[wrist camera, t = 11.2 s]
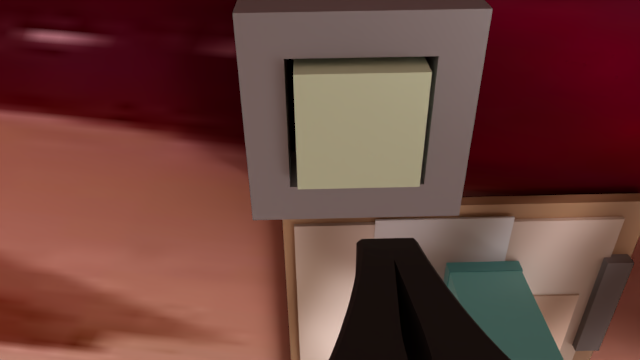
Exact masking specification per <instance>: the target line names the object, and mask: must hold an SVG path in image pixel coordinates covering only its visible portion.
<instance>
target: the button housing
mask: <svg viewBox="0 0 640 360" xmlns="http://www.w3.org/2000/svg"><path fill="white" fill-rule="evenodd" d="M492 10H493V9H492V7H491V6H490V5H489V4H488V3H487V2H486V1H485V0H237V2H236V5H235V7H234V10H233V13H232V14H233V24H234V35H235V45H236V55H237V65H238V75H239V85H240V95H241V106H242V116H243V126H244V136H245V146H246V156H247V166H248V177H249V187H250V197H251V207H252V217H253V220H283V219H327V218H372V217H417V216H459V213H460V207H461V200H462V194H463V188H464V182H465V176H466V170H467V163H468V157H469V151H470V145H471V139H472V133H473V127H474V120H475V114H476V108H477V102H478V96H479V90H480V84H481V77H482V71H483V65H484V59H485V53H486V47H487V40H488V34H489V28H490V22H491V16H492ZM422 56H424V57H425V59H426V61H427V63H428V65H429V67H430V69H431V71H432V77H431V86H430V96H429V105H428V114H427V123H426V132H425V142H424V151H423V160H422V169H421V178H420V187H388V188H342V189H298V185H297V160H296V151H294V152H291V131H290V109H289V87H288V65H287V59H314V58H368V57H422Z"/></svg>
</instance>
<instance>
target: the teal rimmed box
mask: <svg viewBox="0 0 640 360" xmlns="http://www.w3.org/2000/svg"><path fill="white" fill-rule="evenodd" d="M522 272H523V269H522V267H521V265H520V263H519V261H491V262H452V263H446V268H445V274H444V283H445V284H446V286H447V287H448V288H449V290H450V291H451V292H452V293H453V295H454V296H455V297H456V299H457V300H458V301H459V302H460V304H461V305H462V306H463V308H464V309H465V310H466V311H467V312H468V314H469V315H470V316H471V317H472V318H473V320H474V321H475V322H476V323H477V324H478V325H479V327H480V328H481V329H482V330H483V331H484V332H485V333H486V334H487V336H488V337H489V338H490V339H491V340H492V341H493V342H494V343H495V344H496V345H497V346H498V347H499V348H500V349H501V350H502V351H503V352H504V353H505V354H506V355H507V356H508V357H509V358H510V359H511V360H564V359H563V357H562V355H561V353H560V351H559V349H558V347H557V344H556V342H555V340H554V338H553V336H552V334H551V332H550V330H549V328H548V325H547V323H546V321H545V319H544V317H543V315H542V313H541V311H540V309H539V306H538V304H537V302H536V300H535V298H534V296H533V294H532V292H531V290H530V287H529V285H528V283H527V281H526V279H525V277H524V275H523V273H522Z"/></svg>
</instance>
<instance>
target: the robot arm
mask: <svg viewBox="0 0 640 360" xmlns="http://www.w3.org/2000/svg"><path fill="white" fill-rule="evenodd" d="M329 360H511V359H510V358H509V357H508V356H507V355H506V354H505V353H504V352H503V351H502V350H501V349H500V348H499V347H498V346H497V345H496V344H495V343H494V342H493V341H492V340H491V339H490V338H489V337H488V336H487V334H486V333H485V332H484V331H483V330H482V329H481V328H480V327H479V325H478V324H477V323H476V322H475V321H474V320H473V318H472V317H471V316H470V315H469V314H468V312H467V311H466V310H465V309H464V308H463V306H462V305H461V304H460V302H459V301H458V300H457V299H456V297H455V296H454V295H453V293H452V292H451V291H450V290H449V288H448V287H447V286H446V284H445V283H444V281H443V280H442V279H441V277H440V276H439V274H438V273H437V271H436V270H435V269H434V267H433V266H432V264H431V263H430V261H429V260H428V258H427V257H426V255H425V253H424V252H423V250H422V248H421V247H420V245H419V243H418V242H417V241H416V240H415V239H414V238H379V239H361V240H359V241H358V242H357V243H356V272H355V280H354V284H353V289H352V293H351V297H350V301H349V305H348V308H347V311H346V314H345V317H344V320H343V324H342V327H341V330H340V333H339V335H338V338H337V341H336V343H335V346H334V348H333V351H332V353H331V355H330V358H329Z"/></svg>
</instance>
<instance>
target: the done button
mask: <svg viewBox="0 0 640 360" xmlns="http://www.w3.org/2000/svg"><path fill="white" fill-rule="evenodd" d="M431 77H432V71H431V69H430V67H429V65H428V63H427V61H426V59H425V57H424V56H422V57H368V58H314V59H294V66H293V85H294V110H295V135H296V160H297V185H298V189H342V188H388V187H420V178H421V169H422V160H423V151H424V142H425V132H426V123H427V114H428V105H429V96H430V86H431Z"/></svg>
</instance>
